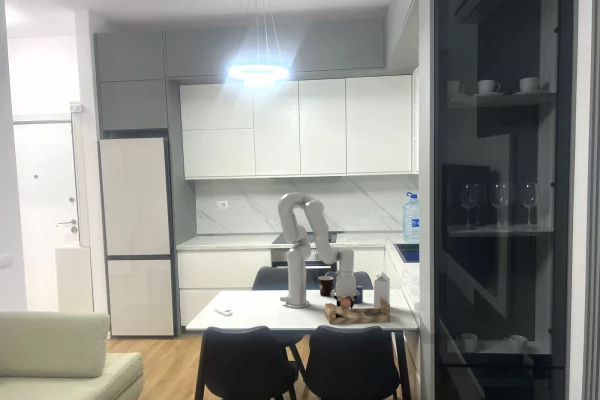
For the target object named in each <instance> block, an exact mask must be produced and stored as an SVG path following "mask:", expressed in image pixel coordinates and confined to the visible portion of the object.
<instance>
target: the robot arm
mask: <svg viewBox="0 0 600 400" xmlns="http://www.w3.org/2000/svg"><path fill="white" fill-rule="evenodd" d="M294 209H300V210H302V211H303V213H304V215H305V216H306V217H305V218H306V219H307V222H308V223H309V226H310V228H311V231H312V234H313V240H314V244H315V249H316V251H317V254H318V255H319V257H320V259H321V261H322V262H323V263H324V264H326V265H332V264H335V263H336V262H338V270H336V271H335V274H336V275H337V276H336V280H335V286H334V289H333V290H332V292H331V293H330V294H331V296H332V297H333V298H334V300H335V301H336V302H335V303H336V304H335V305H336V306H338V307H340V299H341V298H343V297H346V296H350V297H351V299H350V301H351V306H350V307H349V309H354V308H353V307H354V305H355V303H354V301H355V299H356V298H357V297H358V296H359V295H360V292H359V291H358V290H357V289H356V286H357V285H356V284H357V283H356V276H355V275H354V268H355V267H354V265H355V264H354V263H355V251H354V250H353V249H350V248H340V247H336V246H331V243H330V241H329V230H330V229H329V225H328V223H327V220H326V218H325V216H324V210H325V206H324V204H323V202H322V201H320V200H319V199H316V198H314V197H311V196H310V195H308V194H305V193H303V192H298V191H294V192H289V193H288V192H287V193H286V194H284V195H283V196H282V197H281V198H280V199H279V200H278V202H277V213H278V217H279V220H280V225H281V228H282V232H283V238H284V240H285V241H286V243H287V244H289V245H293V246H292V247H291V248H289V250H288V252H287V253H286V261H287V274H288V295H287V296H285V297H282V296H281V297H279V302H284V303H285V306H287V307H289V308H292V309H302V308H306V307H309V305H310V301H309V300H307V268H306V267H307V266H306V262H305V261H307V260H309V258H311V256H312V247H311V243H310V239H309V235H308V232H307V229H306V228H305V227H304V226H303V224H298V221H297V217H296V214H295V212H294ZM340 308H341V307H340Z"/></svg>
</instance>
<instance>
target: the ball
mask: <svg viewBox="0 0 600 400" xmlns="http://www.w3.org/2000/svg"><path fill="white" fill-rule="evenodd" d="M339 301H340V308H343V309H350V306H351V301H350V299H349V298H347V297H346V296H343V297H340V300H339Z"/></svg>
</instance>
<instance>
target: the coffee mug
mask: <svg viewBox="0 0 600 400" xmlns="http://www.w3.org/2000/svg"><path fill="white" fill-rule="evenodd" d="M318 285H319V286H318V287H319V295H320V296H321V297H324V298H326V297H331V296H332V295H331V294H330V293H331V292H332V291H333V290H334V289H335V284H334V277H332V276H329V275H328V276H327V275H324V276H323V275H322V276H318Z"/></svg>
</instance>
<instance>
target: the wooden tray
mask: <svg viewBox="0 0 600 400" xmlns="http://www.w3.org/2000/svg"><path fill="white" fill-rule="evenodd" d="M324 309H325V310H324V316H325V318H326V320H327V322H328V323H329V325H335V324H339V325H340V324H357V323H358V324H361V323H364V324H365V323H382V322H383V323H384V322H391V304H389V303H388V302H387V301H386V300H385V299H384V298H383V297H380V308H374V307H370V308H369V307H367V308H364V307H362V308H353V309H351V308H348V309H343V308H341V307H338V306H336V304H334V303H330V302H327V303H325V305H324ZM336 316H341V317H336Z"/></svg>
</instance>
